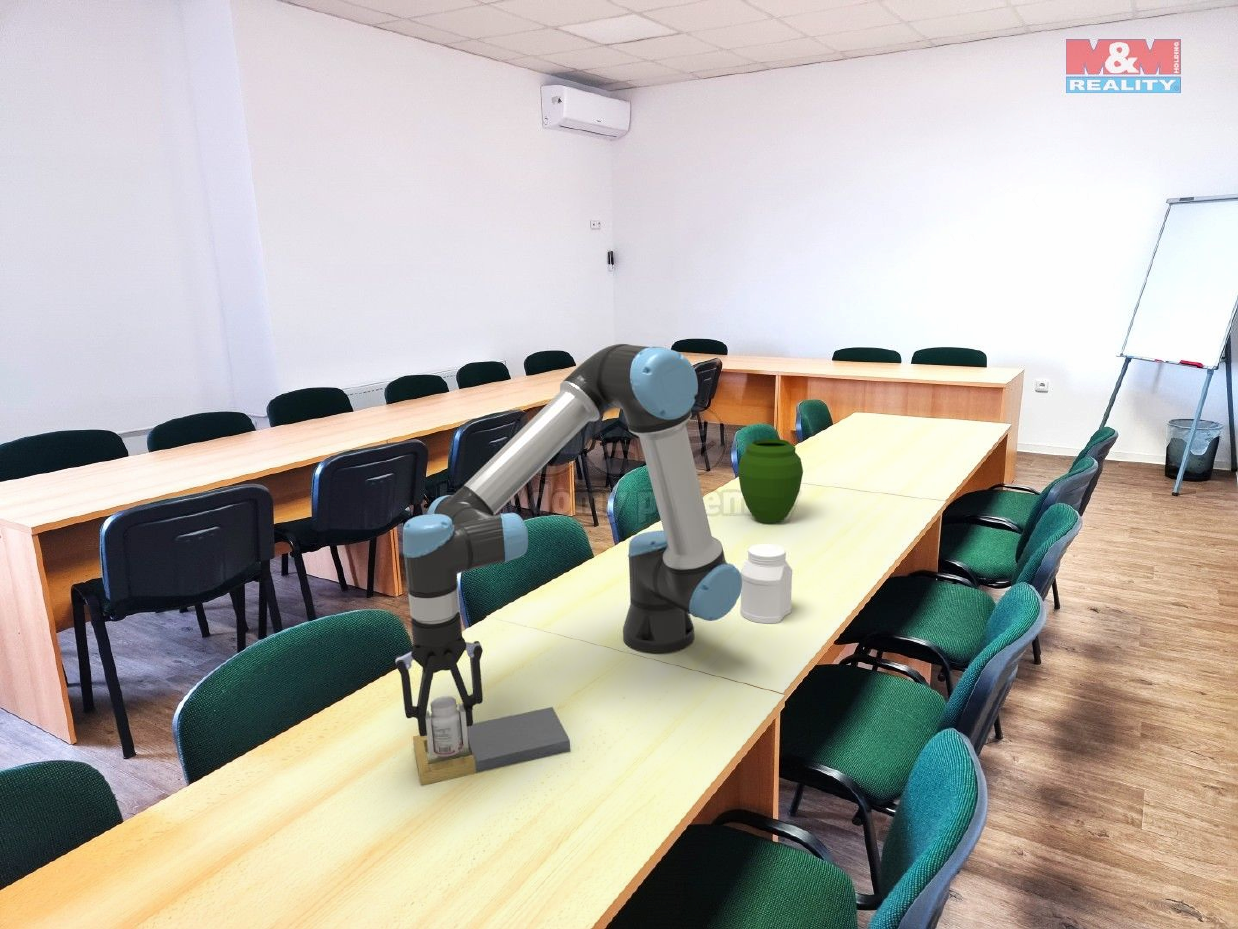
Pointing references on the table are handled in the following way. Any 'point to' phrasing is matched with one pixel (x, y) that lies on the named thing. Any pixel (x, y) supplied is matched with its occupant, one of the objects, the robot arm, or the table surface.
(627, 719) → the table surface
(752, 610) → the jar
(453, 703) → the pill bottle
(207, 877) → the table surface
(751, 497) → the vase
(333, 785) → the table surface
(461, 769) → the flat tray
